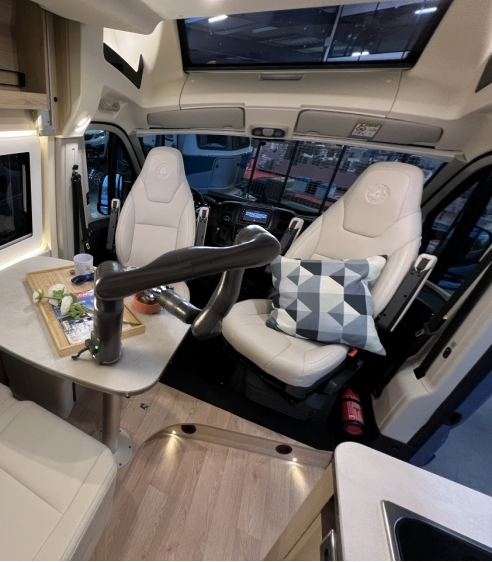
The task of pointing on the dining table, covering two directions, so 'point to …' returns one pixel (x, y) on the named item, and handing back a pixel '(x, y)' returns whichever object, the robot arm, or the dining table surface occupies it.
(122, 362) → the dining table surface
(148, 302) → the brown mallet
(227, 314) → the robot arm
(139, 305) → the bowl
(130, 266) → the beverage can
